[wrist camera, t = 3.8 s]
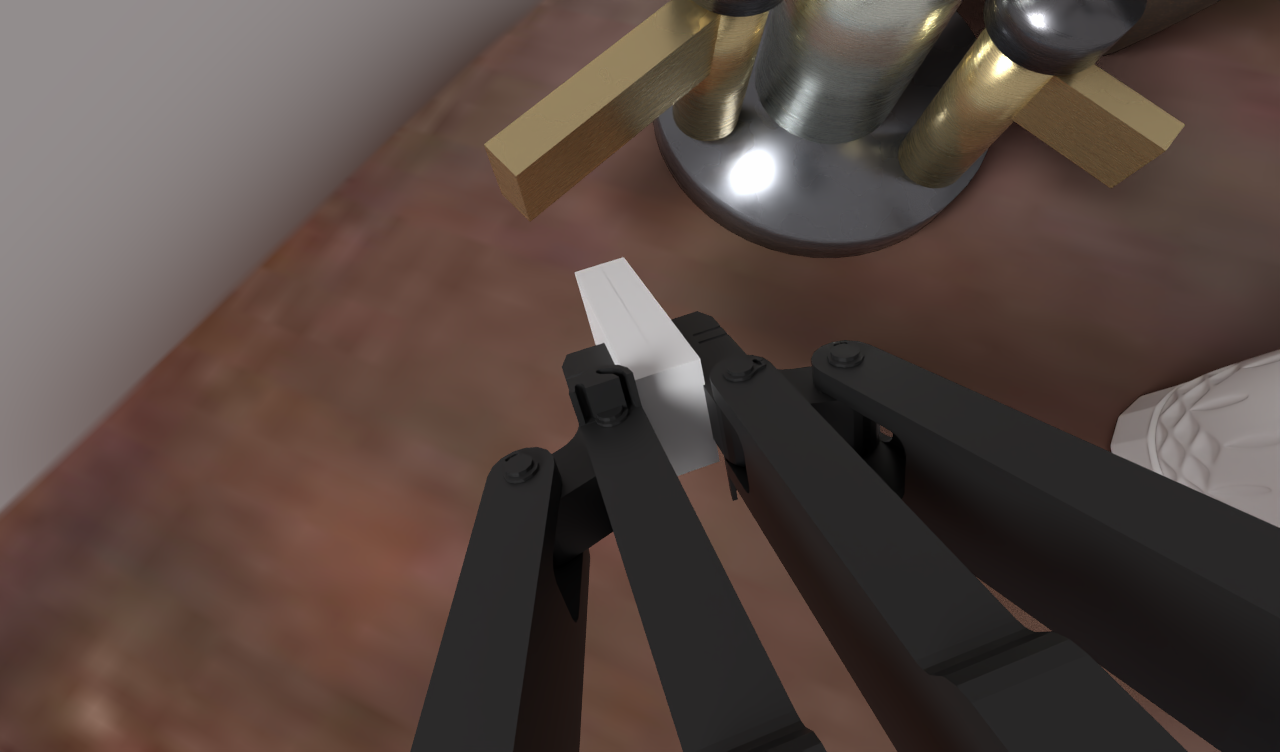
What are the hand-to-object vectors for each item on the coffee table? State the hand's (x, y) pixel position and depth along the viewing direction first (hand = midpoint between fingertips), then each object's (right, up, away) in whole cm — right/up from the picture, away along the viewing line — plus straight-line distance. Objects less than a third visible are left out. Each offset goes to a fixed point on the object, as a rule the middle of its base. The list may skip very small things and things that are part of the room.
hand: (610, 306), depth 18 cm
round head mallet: (+1, +8, +10) cm, 13 cm away
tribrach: (+10, +12, +14) cm, 21 cm away
